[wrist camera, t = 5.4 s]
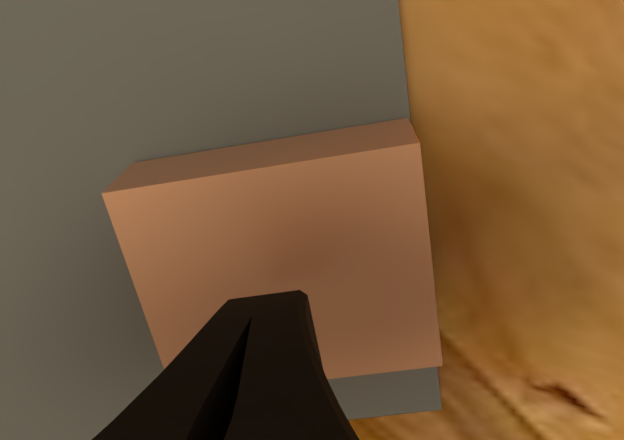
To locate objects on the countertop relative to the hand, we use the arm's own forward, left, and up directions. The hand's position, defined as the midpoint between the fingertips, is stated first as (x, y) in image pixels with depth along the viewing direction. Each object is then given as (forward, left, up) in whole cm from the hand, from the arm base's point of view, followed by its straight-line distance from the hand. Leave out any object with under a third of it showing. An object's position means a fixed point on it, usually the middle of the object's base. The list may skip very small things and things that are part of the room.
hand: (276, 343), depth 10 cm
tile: (0, +3, -3) cm, 4 cm away
